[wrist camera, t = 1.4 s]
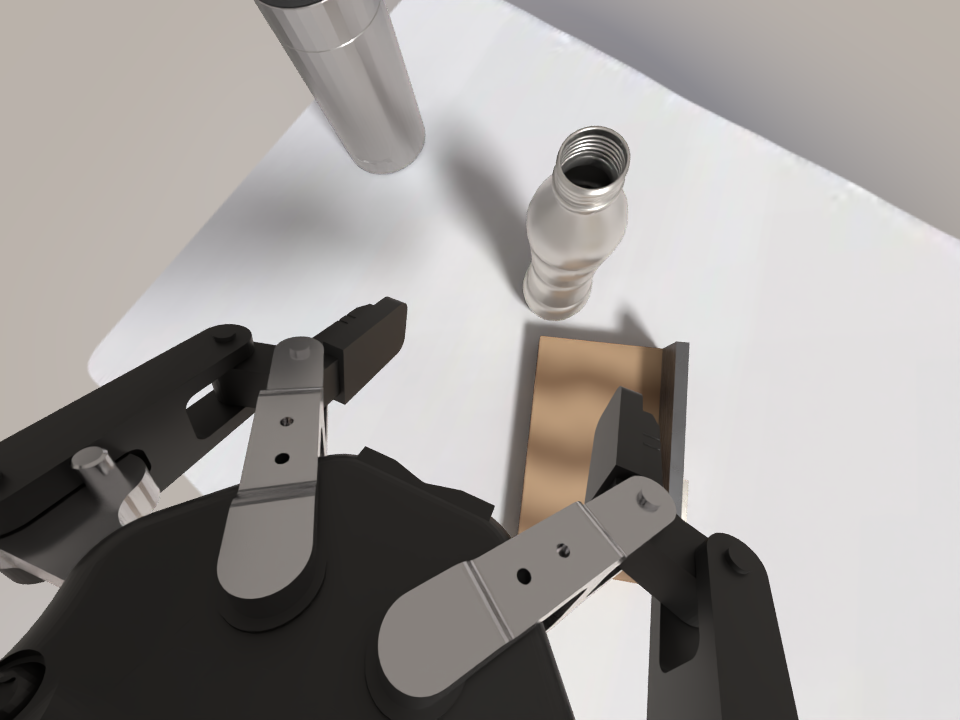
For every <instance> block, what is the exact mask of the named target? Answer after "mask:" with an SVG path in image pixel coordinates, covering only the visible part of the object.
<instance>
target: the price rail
mask: <svg viewBox="0 0 960 720" xmlns="http://www.w3.org/2000/svg"><path fill="white" fill-rule="evenodd" d="M688 362H689V343H686V342H675V343H673V344H671V345H669V346H667V347H665V348H663V350H662V368H661V386H660V403H659V421H658V425H659V427H660V442H661V450H660V452H661V459H662V477H663V488H664V489H665V490H666V491H667V492H668V493H669V494H670V496H671V497H672V499H673V501H674V503H675V506H676V514H677V515H678V516H679V517H680V518H682V519H683V520H684V521H685V522H687V501H688V480H685V479H683V473H684V450H685V428H686V406H687V384H688Z"/></svg>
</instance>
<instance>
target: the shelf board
mask: <svg viewBox="0 0 960 720" xmlns="http://www.w3.org/2000/svg"><path fill="white" fill-rule="evenodd" d="M662 350H663V349H660V348H651V347H641V346H632V345H623V344H613V343H604V342H594V341H585V340H575V339H566V338H556V337H547V336H540V340H539V347H538V356H537V365H536V374H535V383H534V392H533V401H532V410H531V419H530V428H529V437H528V446H527V455H526V464H525V473H524V482H523V491H522V500H521V510H520V519H519V528H518V534H520V533H522V532H523V531H525V530H527V529H529V528H530V527H532V526H534V525H536V524H537V523H539V522H541V521H543V520H544V519H546V518H548V517H550V516H551V515H553V514H555V513H557V512H558V511H560V510H562V509H564V508H565V507H567V506H569V505H571V504H572V503H574V502H577V501H581V503H582V504H583V505H584V502H585V495H586V488H587V482H588V475H589V468H590V461H591V454H592V448H593V441H594V434H595V430H596V427H597V424H598V421H599V419H600V417H601V415H602V414H603V412H604V410H605V409H606V407H607V405H608V403H609V402H610V400H611V398H612V397H613V395H614V393H615V391H616V390H617V388H618V387H619V386H622V387H625V388H627V389H630V390H633V391H635V392H638V393H640V394H642V395H643V411H646V412H648V413H651V414H653V416H654V418H655V420H656V421H657V423H658V421H659V403H660V386H661V368H662ZM613 579H615V580H621V581H626V582H632V583H637V582H636V581H634V580H633V579H632V578H631V577H630V576H628V575H627V574H626V573H625V572H624V571H621V572H620V573H619V574H618V575H616V576H615V577H614V578H613ZM637 584H638V583H637Z"/></svg>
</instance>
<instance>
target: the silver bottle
mask: <svg viewBox="0 0 960 720" xmlns="http://www.w3.org/2000/svg"><path fill="white" fill-rule="evenodd" d="M629 164H630V151H629V147H628V145H627V143H626V141H625V140H624V138H623V137H622V136H621V135H620V134H618V133H617V132H615V131H614V130H612V129H609V128H607V127H602V126H590V127H585V128H582V129H579V130H577V131H575V132H574V133H572V134H571V135H570V136H569V137H567V138H566V140H565V141H564V142H563V144H562V146H561V147H560V150H559V152H558V155H557V160H556V165H555V167H554V170H553V174H552V175H550V176H549V177H548V178H547V179H546V180H545V181H543V183H542V184H541V185H540V186H539V188H538V189H537V191H536V192H535V194H534V196H533V198H532V200H531V202H530V204H529V207H528V210H527V216H526V227H527V236H528V240H529V244H530V248H531V257H532V258H531V264H530V266H529V267H528V269H527V272H526V274H525V277H524V281H523V294H524V297H525V300H526V302H527V304H528V306H529V308H530V309H531V310H532V311H533V313H534V314H536V315H537V316H538V317H540V318H542V319H545V320H549V321H561V320H565V319H567V318H570V317H571V316H573V315H575V314H576V313H578V312H579V311H580V310H581V309H582V308H583V307H584V306H585V304H586V303H587V301H588V299H589V297H590V293H591V289H592V278H593V275H594V273H595V272H596V270H597V269H598V267H599V266H600V265H601V264H602V263H603V262H604V261H605V260H606V259H607V258H608V257H609V256H610V255H611V254H612V253H613V251H614V250H615V249H616V247H617V246H618V244H619V243H620V242H621V240H622V238H623V236H624V234H625V231H626V227H627V223H628V204H627V198H626V195H625V193H624V191H623V189H622V188H623V185H624V181H625V176H626V174H627V172H628V168H629Z"/></svg>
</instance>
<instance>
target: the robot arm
mask: <svg viewBox="0 0 960 720" xmlns="http://www.w3.org/2000/svg"><path fill="white" fill-rule="evenodd" d="M254 1H255V3H256V5H257V6H258V8H259V9H260V11H261V13H262V14H263V16H264V17H265V19H266V21H267V22H268V24H269V26H270V27H271V29H272V30H273V32H274V33H275V35H276V36H277V38H278V40H279V41H280V43H281V45H282V46H283V48H284V49H285V51H286V53H287V54H288V56H289V57H290V59H291V61H292V62H293V64H294V66H295V67H296V69H297V70H298V72H299V74H300V75H301V77H302V78H303V80H304V82H305V83H306V85H307V86H308V88H309V90H310V91H311V93H312V94H313V96H314V98H315V99H316V101H317V103H318V104H319V106H320V107H321V109H322V111H323V112H324V114H325V115H326V117H327V119H328V120H329V122H330V123H331V125H332V127H333V128H334V130H335V132H336V133H337V135H338V137H339V138H340V140H341V141H342V143H343V145H344V146H345V148H346V149H347V151H348V153H349V154H350V156H351V157H352V159H353V161H354V162H355V163H356V164H357V165H358V166H359V167H360V168H362V169H363V170H365V171H368V172H370V173H375V174H390V173H394V172H397V171H399V170H401V169H404V168H405V167H407V166H408V165H410V164H411V163H412V162H413V161H414V160H415V159H416V158H417V156H418V155H419V153H420V152H421V150H422V147H423V145H424V141H425V128H424V125H423V122H422V119H421V115H420V112H419V109H418V105H417V102H416V98H415V95H414V92H413V89H412V86H411V82H410V79H409V76H408V73H407V70H406V66H405V63H404V60H403V57H402V53H401V50H400V47H399V44H398V41H397V37H396V34H395V31H394V28H393V25H392V22H391V18H390V15H389V12H388V9H387V6H386V3H385V0H254ZM406 319H407V305H406V303H403V302H401V301H398V300H395V299H393V298H390V297H385V298H383V299H382V300H380V301H379V302H378V303H376V304H375V305H372V304H368V305H365V306H361V307H358V308H356V309H354V310H353V311H351V312H350V313H348V314H347V316H346V315H345V316H344V317H342V318H341V319H340V320H339V321H337V322H335V323H334V324H332V325H331V326H329V327H328V328H326V329H325V330H323V331H322V332H320V333H319V334H317V335H316V336H314V337H313V338H310V337H292V338H288V339H285V340H283V341H281V342H280V343H279V344H277V345H270V344H264V343H258V342H253V338H252V334H251V331H250V330H249V329H247V328H246V327H244V326H240V325H235V324H224V325H217V326H214V327H211V328H208V329H206V330H204V331H202V332H201V333H199V334H197V335H195V336H193V337H191V338H190V339H188V340H186V341H184V342H182V343H180V344H179V345H177V346H175V347H173V348H171V349H169V350H168V351H166V352H164V353H162V354H160V355H158V356H157V357H155V358H153V359H151V360H149V361H147V362H146V363H144V364H142V365H140V366H138V367H136V368H135V369H133V370H131V371H129V372H127V373H125V374H124V375H122V376H120V377H118V378H116V379H114V380H113V381H111V382H109V383H107V384H105V385H103V386H102V387H100V388H98V389H96V390H94V391H92V392H91V393H89V394H87V395H85V396H83V397H81V398H80V399H78V400H76V401H74V402H72V403H70V404H69V405H67V406H65V407H63V408H61V409H59V410H58V411H56V412H54V413H52V414H50V415H48V416H47V417H45V418H43V419H41V420H39V421H37V422H36V423H34V424H32V425H30V426H28V427H27V428H25V429H23V430H21V431H19V432H17V433H16V434H14V435H12V436H10V437H8V438H7V439H4V440H3V441H1V442H0V572H1V573H3V574H4V575H5V576H7V577H8V578H10V579H11V580H12V581H14V582H16V583H19V584H36V583H41V582H44V581H47V582H49V583H51V584H54V585H56V586H58V587H59V588H60V589H59V590H58V592H57V594H56V595H55V597H54V598H53V600H52V601H51V602H50V604H49V605H48V607H47V608H46V610H45V611H44V612H43V614H42V615H41V616H40V617H39V619H38V620H37V621H36V622H35V623H34V625H33V626H32V627H31V628H30V630H29V631H28V632H27V633H26V634H25V635H24V636H23V638H22V639H21V640H20V641H19V642H18V643H17V644H16V645H15V646H14V647H13V648H12V649H11V650H10V651H9V652H8V653H7V654H6V655H5V656H4V657H3V658H2V659H1V660H0V720H575V717H574V714H573V711H572V708H571V705H570V702H569V699H568V696H567V693H566V691H565V688H564V685H563V682H562V679H561V676H560V673H559V670H558V667H557V664H556V661H555V658H554V655H553V652H552V649H551V646H550V643H549V640H548V637H547V634H546V633H547V632H548V631H549V630H551V629H552V628H553V627H554V626H556V625H557V624H558V623H559V622H561V621H562V620H563V619H564V618H565V617H566V616H568V615H569V614H570V613H571V612H572V611H573V610H574V609H575V608H576V607H578V606H579V605H580V604H581V603H582V602H584V601H585V600H586V599H587V598H589V597H590V596H591V595H592V594H594V593H595V592H596V591H597V590H599V589H600V588H601V587H603V586H604V585H605V584H606V583H608V582H609V581H610V580H611V579H613V578H614V577H615V576H616V575H618V574H619V573H620V572H621V571H624V572H625V573H626V574H627V575H628V576H630V577H631V578H632V579H633V580H634V581H636V582H637V583H638V584H639V585H640V586H642V587H643V588H644V589H645V590H646V591H648V592H649V593H650V594H651V595H652V599H651V624H650V650H649V675H648V701H647V720H799V719H798V715H797V710H796V705H795V701H794V696H793V691H792V687H791V682H790V677H789V673H788V668H787V663H786V659H785V654H784V649H783V645H782V640H781V635H780V631H779V626H778V622H777V617H776V612H775V608H774V603H773V598H772V594H771V589H770V584H769V580H768V575H767V572H766V570H765V568H764V566H763V564H762V562H761V561H760V559H759V558H758V556H757V555H756V554H755V553H754V552H753V551H752V550H751V549H750V548H749V547H748V546H747V545H746V544H744V543H743V542H742V541H740V540H739V539H737V538H735V537H733V536H731V535H729V534H725V533H715V534H712V535H711V536H710V537H709V538H707V537H706V536H705V535H703V534H702V533H700V532H699V531H698V530H696V529H695V528H693V527H692V526H691V525H689V524H688V523H687V522H685V521H684V520H683V519H682V518H680V517H679V516H678V515H677V514H676V506H675V503H674V501H673V499H672V497H671V496H670V494H669V493H668V492H667V491H666V490H665V489H664V488H663V477H662V459H661V452H660V450H661V442H660V427H659V425H658V423H657V421H656V420H655V418H654V416H653V414H651V413H648V412H646V411H643V395H642V394H640V393H638V392H635V391H633V390H630V389H627V388H625V387H622V386H619V387H618V388H617V390H616V391H615V393H614V395H613V397H612V398H611V400H610V402H609V403H608V405H607V407H606V409H605V410H604V412H603V414H602V415H601V417H600V419H599V421H598V424H597V427H596V430H595V434H594V441H593V448H592V454H591V461H590V468H589V475H588V482H587V488H586V495H585V502H584V505H583V504H582V503H581V501H577V502H574V503H572V504H571V505H569V506H567V507H565V508H564V509H562V510H560V511H558V512H557V513H555V514H553V515H551V516H550V517H548V518H546V519H544V520H543V521H541V522H539V523H537V524H536V525H534V526H532V527H530V528H529V529H527V530H525V531H523V532H522V533H520V534H518V535H516V536H515V537H513V538H511V537H510V536H509V534H508V533H507V532H506V530H505V529H504V528H503V527H502V526H501V525H500V524H499V523H498V522H497V521H496V520H495V519H493V518H492V517H491V515H492V512H493V510H494V507H495V506H494V505H492V504H490V503H488V502H485V501H483V500H481V499H479V498H477V497H475V496H472V495H470V494H468V493H466V492H464V491H461V490H456V489H451V488H447V487H442V486H437V485H432V484H427V483H424V482H422V481H421V480H419V479H418V478H417V477H416V476H415V475H413V474H412V473H411V472H410V471H408V470H407V469H406V468H405V467H403V466H402V465H401V464H400V463H399V462H397V461H396V460H394V459H392V458H390V457H388V456H385V455H383V454H381V453H379V452H377V451H375V450H372V449H370V448H368V447H366V446H365V447H364V449H363V450H362V451H361V452H360V453H359V455H352V454H335V455H327V437H328V404H329V403H330V402H331V401H332V400H335V401H338V402H340V403H342V404H344V405H345V404H346V403H347V402H348V401H349V400H350V399H351V398H352V397H353V396H354V395H356V394H357V393H358V392H359V391H360V390H361V389H362V388H363V387H364V386H365V385H366V384H367V383H368V382H369V381H370V380H371V379H372V378H373V377H374V376H375V375H376V374H377V373H378V372H379V371H380V370H381V369H382V368H383V367H384V366H385V365H386V364H387V363H388V362H389V361H390V360H391V359H392V358H393V357H394V356H395V355H396V354H397V353H398V352H399V351H400V349H401V347H402V345H403V343H404V339H405V329H406ZM211 383H212V385H213V388H214V390H213V391H211V392H210V393H208V394H207V395H206V396H204V397H203V398H201V399H200V400H198V401H197V402H196V403H194V404H193V405H191V406H190V407H189V408H187V409H186V405H187V403H188V401H189V400H190V398H191V397H192V396H193V395H195V394H196V393H198V392H199V391H200V390H202V389H203V388H205V387H206V386H208V385H209V384H211ZM254 413H255V415H254V419H253V424H252V429H251V433H250V438H249V443H248V448H247V452H246V457H245V462H244V466H243V471H242V476H241V481H240V484H237V485H234V486H231V487H228V488H225V489H222V490H219V491H216V492H213V493H210V494H207V495H204V496H201V497H198V498H196V499H193V500H190V501H186V502H184V503H181V504H178V505H174V506H171V507H169V508H166V509H162V510H160V511H157V512H154V513H151V512H152V511H153V510H154V508H155V507H156V505H157V503H158V501H159V498H160V493H161V492H162V491H163V490H164V489H166V488H167V487H168V486H169V485H170V484H171V483H173V482H174V481H175V480H176V479H177V478H178V477H180V476H181V475H182V474H183V473H184V472H185V471H187V470H188V469H189V468H190V467H191V466H193V465H194V464H195V463H196V462H197V461H198V460H200V459H201V458H202V457H203V456H204V455H205V454H207V453H208V452H209V451H210V450H211V449H213V448H214V447H215V446H216V445H217V444H218V443H220V442H221V441H222V440H223V439H224V438H225V437H227V436H228V435H229V434H230V433H231V432H232V431H234V430H235V429H236V428H237V427H238V426H240V425H241V424H242V423H243V422H244V421H245V420H247V419H248V418H249V417H250V416H251V415H252V414H254ZM150 513H151V514H150Z"/></svg>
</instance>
